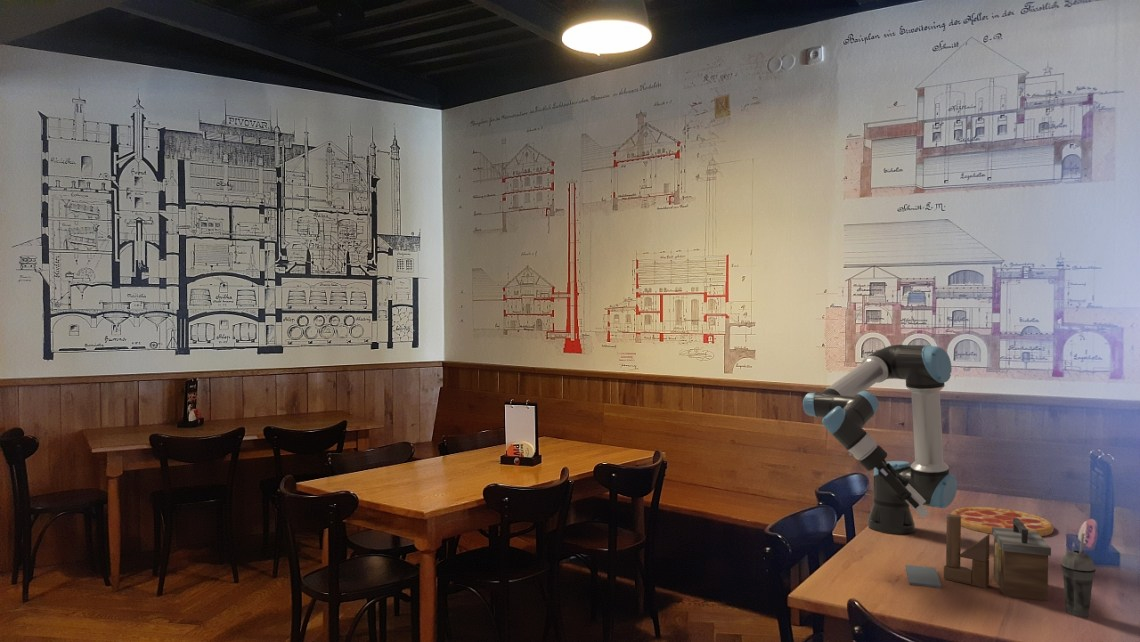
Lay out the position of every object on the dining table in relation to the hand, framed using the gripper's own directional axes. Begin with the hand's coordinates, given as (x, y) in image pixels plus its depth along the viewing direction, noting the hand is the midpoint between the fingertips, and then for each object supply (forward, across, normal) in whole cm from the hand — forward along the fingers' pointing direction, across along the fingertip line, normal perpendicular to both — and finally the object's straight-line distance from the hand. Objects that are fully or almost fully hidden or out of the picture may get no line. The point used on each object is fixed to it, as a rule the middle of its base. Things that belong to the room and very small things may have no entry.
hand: (924, 509), depth 217 cm
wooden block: (+21, 0, -6) cm, 22 cm away
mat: (+13, 0, -14) cm, 19 cm away
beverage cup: (+38, +15, +10) cm, 42 cm away
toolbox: (+30, 0, +3) cm, 31 cm away
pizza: (+36, -71, +8) cm, 80 cm away
